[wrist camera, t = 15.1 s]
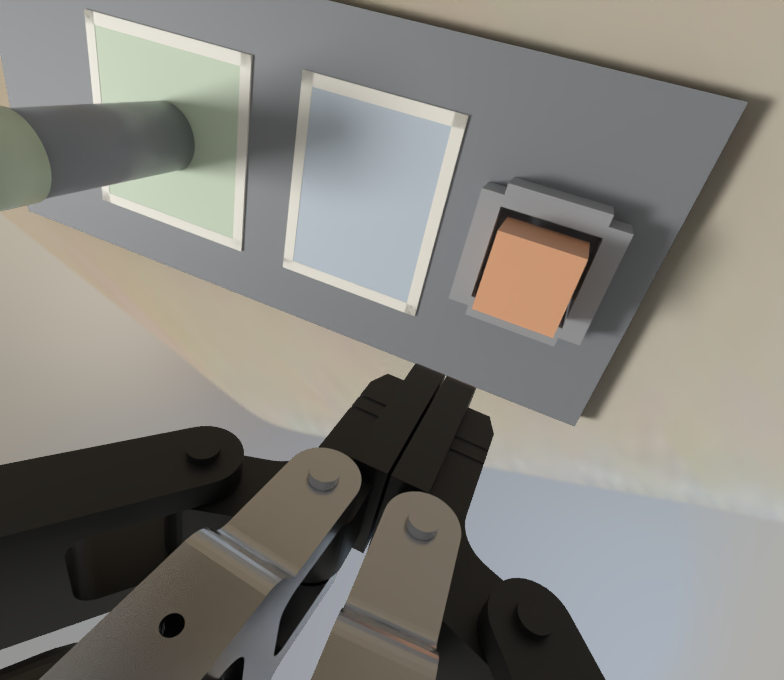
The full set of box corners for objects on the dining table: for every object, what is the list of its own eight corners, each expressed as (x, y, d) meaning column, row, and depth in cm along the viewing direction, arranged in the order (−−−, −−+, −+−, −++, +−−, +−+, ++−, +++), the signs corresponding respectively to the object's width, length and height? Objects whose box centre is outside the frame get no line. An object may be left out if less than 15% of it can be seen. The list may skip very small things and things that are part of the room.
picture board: (742, 100, 19) (759, 103, 17) (575, 415, 27) (572, 444, 25) (-6, -81, 27) (-59, -95, 25) (42, 207, 35) (5, 216, 33)
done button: (589, 242, 21) (588, 259, 19) (557, 315, 23) (553, 338, 21) (507, 216, 22) (497, 230, 20) (482, 289, 24) (471, 308, 22)
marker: (196, 108, 26) (-23, 124, 17) (196, 180, 28) (0, 229, 19) (137, 90, 27) (-101, 96, 18) (141, 161, 29) (-71, 199, 20)
